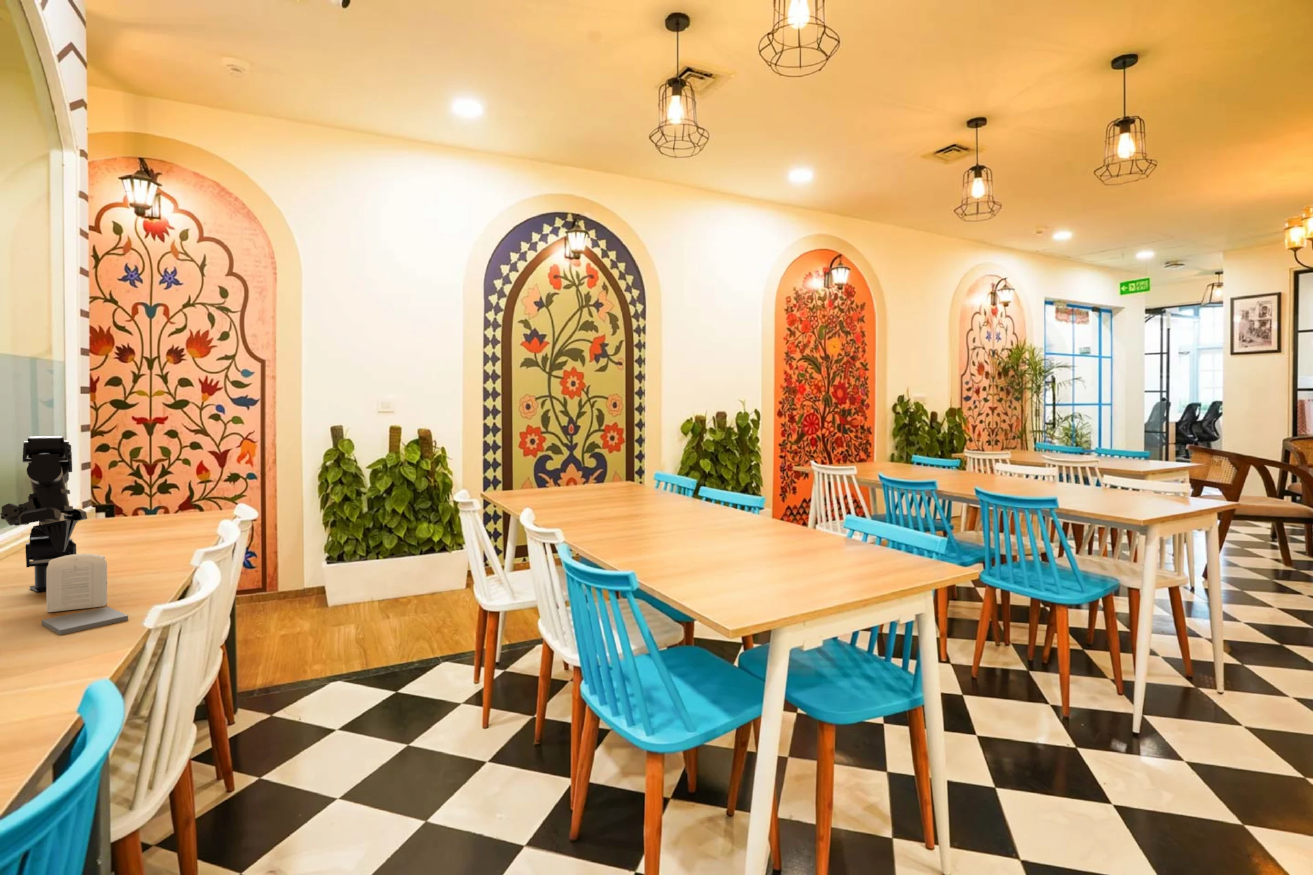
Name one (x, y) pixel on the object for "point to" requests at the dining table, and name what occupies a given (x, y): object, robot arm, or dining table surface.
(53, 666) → the dining table surface
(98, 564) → the photo printer
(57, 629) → the board
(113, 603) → the dining table surface
